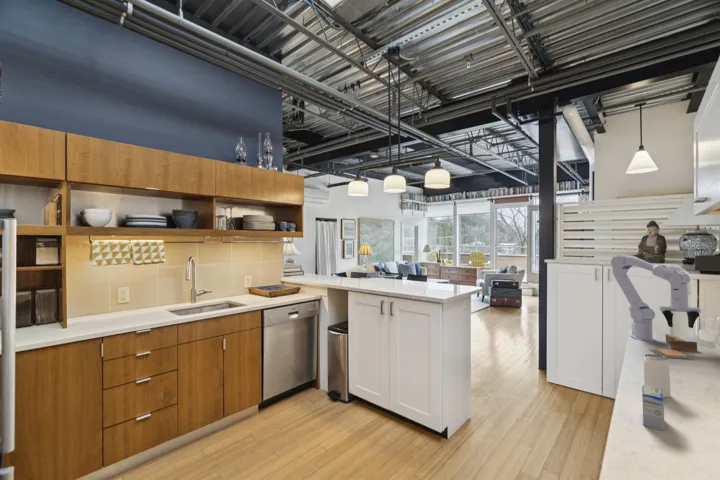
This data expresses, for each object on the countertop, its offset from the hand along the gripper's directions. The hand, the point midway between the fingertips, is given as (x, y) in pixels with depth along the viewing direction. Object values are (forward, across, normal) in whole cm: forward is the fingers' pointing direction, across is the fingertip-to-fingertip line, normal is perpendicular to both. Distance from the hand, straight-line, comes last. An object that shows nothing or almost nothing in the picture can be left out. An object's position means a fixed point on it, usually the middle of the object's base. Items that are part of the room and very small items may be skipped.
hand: (680, 327), depth 160 cm
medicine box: (+10, -45, -85) cm, 96 cm away
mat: (+9, -11, -16) cm, 21 cm away
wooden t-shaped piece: (+10, -2, 0) cm, 10 cm away
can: (+10, -35, -63) cm, 73 cm away
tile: (+8, -11, -13) cm, 19 cm away
